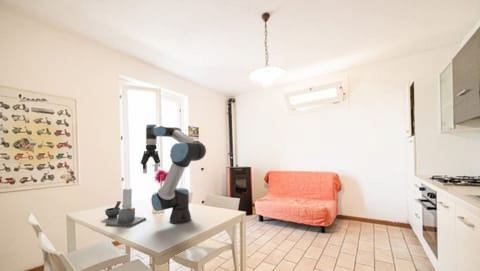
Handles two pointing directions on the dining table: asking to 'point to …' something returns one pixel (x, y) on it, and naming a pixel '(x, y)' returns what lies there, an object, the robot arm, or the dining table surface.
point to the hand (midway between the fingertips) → (150, 172)
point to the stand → (126, 219)
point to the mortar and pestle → (113, 211)
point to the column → (127, 199)
